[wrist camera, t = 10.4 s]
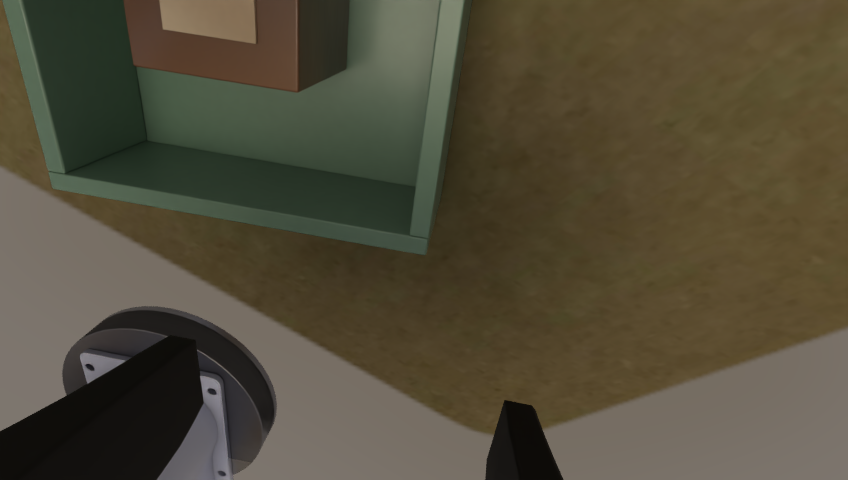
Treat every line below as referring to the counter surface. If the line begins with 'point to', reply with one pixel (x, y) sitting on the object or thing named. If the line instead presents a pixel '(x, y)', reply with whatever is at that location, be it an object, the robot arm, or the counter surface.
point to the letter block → (241, 39)
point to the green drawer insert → (253, 123)
